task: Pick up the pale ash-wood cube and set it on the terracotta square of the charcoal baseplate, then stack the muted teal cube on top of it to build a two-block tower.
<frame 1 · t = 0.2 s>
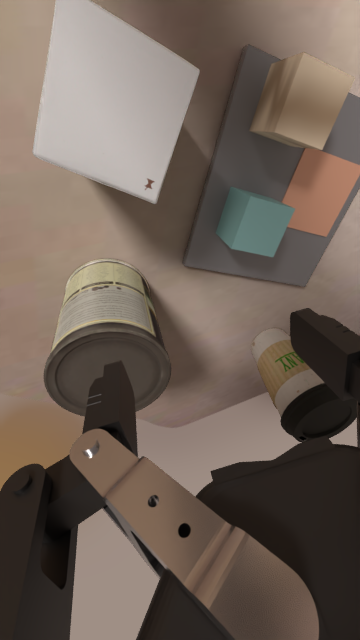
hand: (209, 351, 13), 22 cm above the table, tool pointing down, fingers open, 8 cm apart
supplement box: (112, 119, 25), on the table
baseplate: (279, 194, 32), on the table
ash block: (282, 108, 26), point 1 cm above the table, touching baseplate
coffee cup: (268, 342, 46), on the table
coffee can: (109, 295, 35), on the table
teal block: (242, 215, 31), point 1 cm above the table, touching baseplate
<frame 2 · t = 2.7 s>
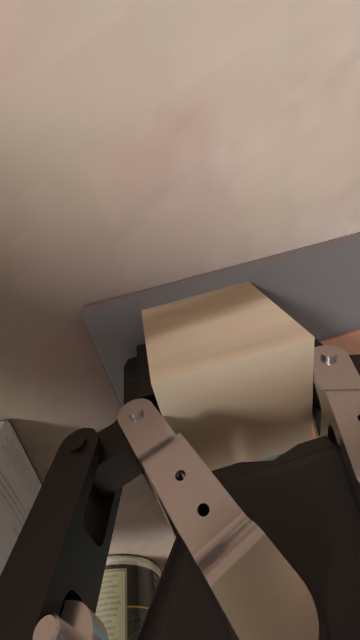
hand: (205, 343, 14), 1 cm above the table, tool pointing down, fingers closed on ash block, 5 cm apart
baseplate: (277, 404, 18), on the table
ash block: (204, 341, 14), point 1 cm above the table, touching baseplate, gripper
coffee can: (104, 581, 25), on the table
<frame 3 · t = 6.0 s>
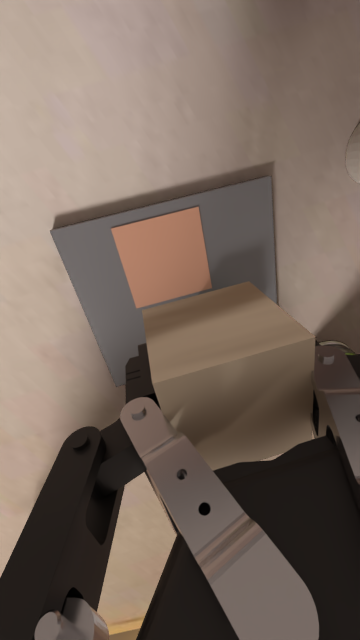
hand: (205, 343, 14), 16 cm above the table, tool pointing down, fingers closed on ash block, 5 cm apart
baseplate: (181, 291, 30), on the table
ash block: (205, 341, 14), point 16 cm above the table, touching gripper
when the fingers open (2 cm above the table, at t = 8.8 s): ash block stays where it is, resting on baseplate.
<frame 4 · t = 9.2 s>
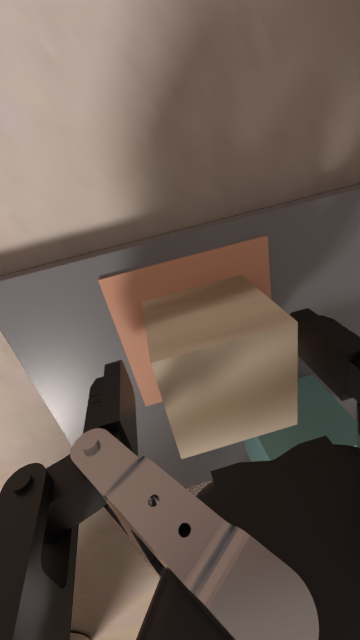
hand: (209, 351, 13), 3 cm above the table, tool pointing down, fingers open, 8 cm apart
baseplate: (221, 370, 18), on the table
ash block: (200, 331, 15), point 1 cm above the table, touching baseplate
teal block: (276, 412, 19), point 1 cm above the table, touching baseplate
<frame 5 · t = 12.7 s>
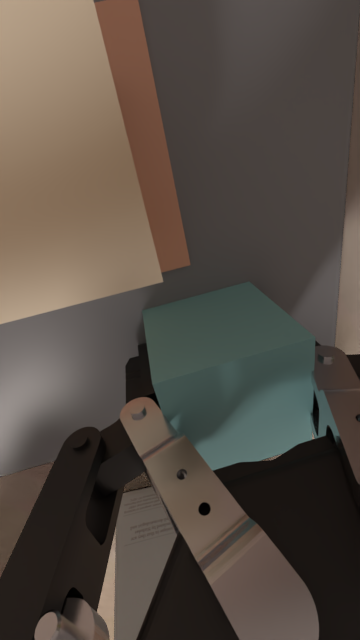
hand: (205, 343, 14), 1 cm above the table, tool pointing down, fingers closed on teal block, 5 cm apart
supplement box: (170, 507, 22), on the table
baseplate: (120, 274, 13), on the table
ash block: (57, 184, 10), point 1 cm above the table, touching baseplate
teal block: (205, 341, 14), point 1 cm above the table, touching baseplate, gripper
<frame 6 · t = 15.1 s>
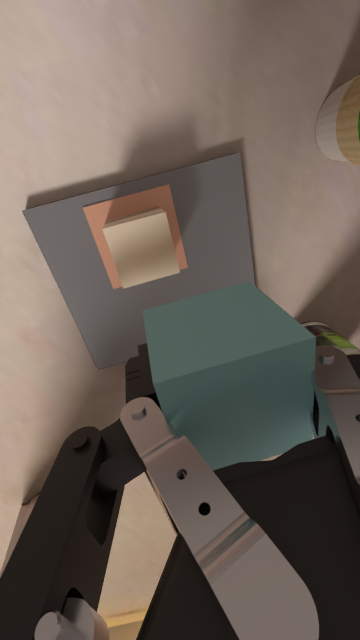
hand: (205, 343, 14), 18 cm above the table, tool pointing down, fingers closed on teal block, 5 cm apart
baseplate: (159, 272, 30), on the table
ash block: (140, 240, 27), point 1 cm above the table, touching baseplate
coffee cup: (344, 124, 27), on the table
coffee can: (301, 353, 39), on the table
teal block: (205, 341, 14), point 18 cm above the table, touching gripper
when the fingers open (7 cm above the table, at t = 17.6 s): teal block stays where it is, resting on ash block.
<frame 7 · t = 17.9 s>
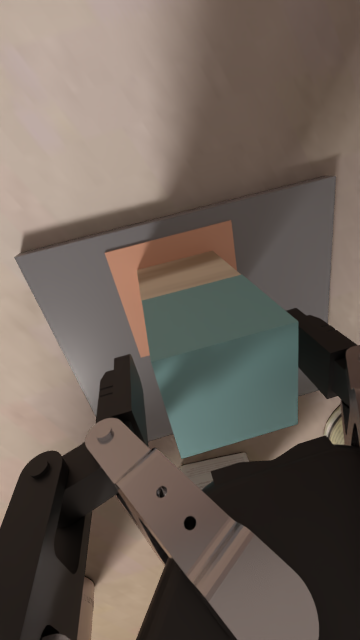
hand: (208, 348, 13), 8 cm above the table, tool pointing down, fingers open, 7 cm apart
supplement box: (212, 477, 31), on the table
baseplate: (201, 331, 22), on the table
ash block: (182, 295, 19), point 1 cm above the table, touching baseplate, teal block
teal block: (200, 330, 15), point 6 cm above the table, touching ash block
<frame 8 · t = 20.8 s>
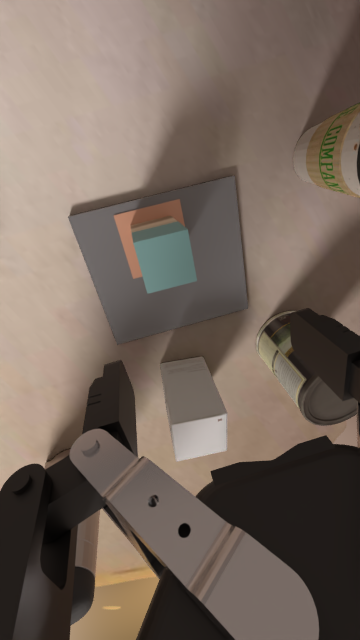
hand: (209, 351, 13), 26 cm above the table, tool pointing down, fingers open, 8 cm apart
supplement box: (182, 375, 47), on the table
baseplate: (169, 266, 38), on the table
ash block: (155, 241, 35), point 1 cm above the table, touching baseplate, teal block
coffee cup: (315, 154, 35), on the table
coffee can: (283, 337, 47), on the table
teal block: (160, 250, 30), point 6 cm above the table, touching ash block
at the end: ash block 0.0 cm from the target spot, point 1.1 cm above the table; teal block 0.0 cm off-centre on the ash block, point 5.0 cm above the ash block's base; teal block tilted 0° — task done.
